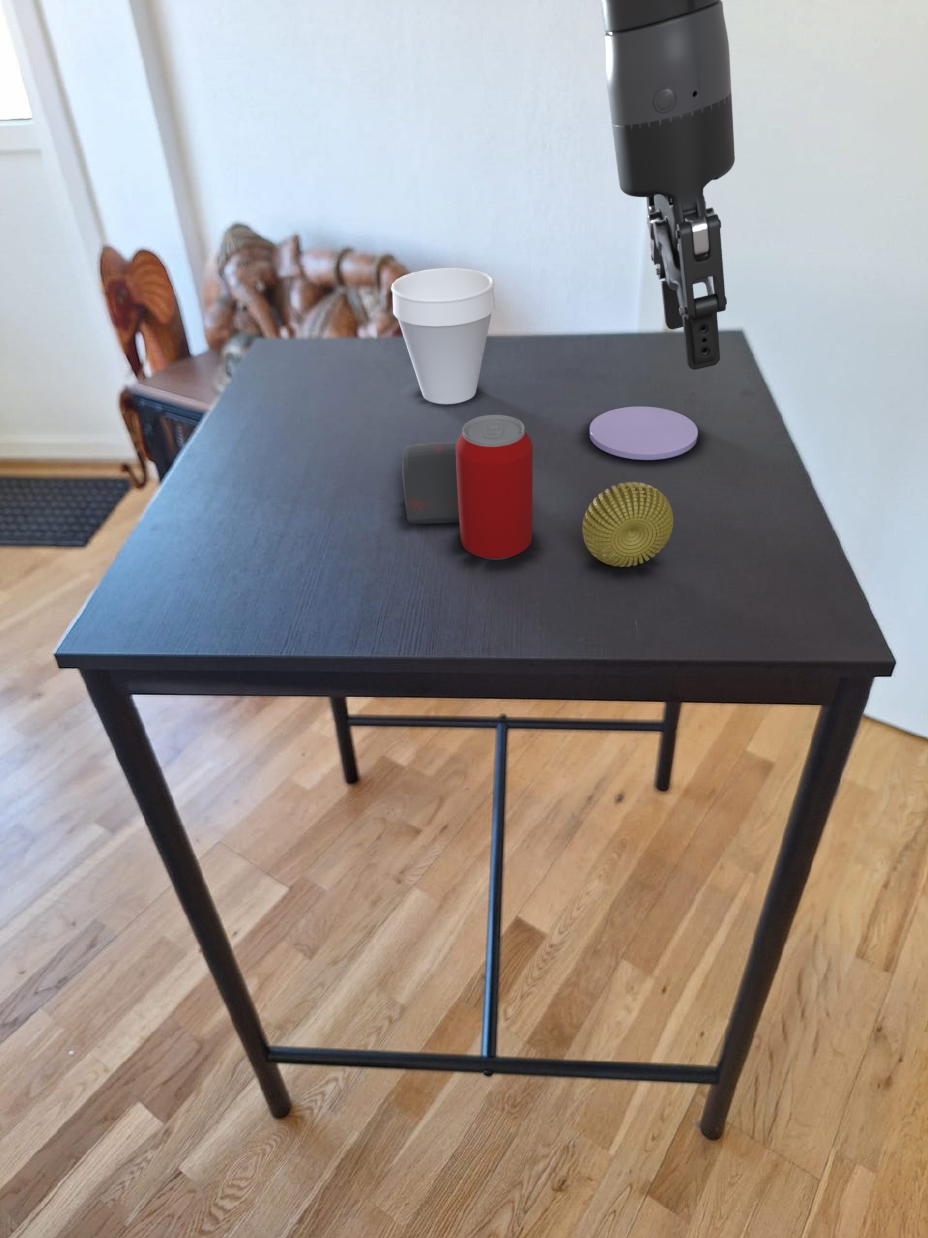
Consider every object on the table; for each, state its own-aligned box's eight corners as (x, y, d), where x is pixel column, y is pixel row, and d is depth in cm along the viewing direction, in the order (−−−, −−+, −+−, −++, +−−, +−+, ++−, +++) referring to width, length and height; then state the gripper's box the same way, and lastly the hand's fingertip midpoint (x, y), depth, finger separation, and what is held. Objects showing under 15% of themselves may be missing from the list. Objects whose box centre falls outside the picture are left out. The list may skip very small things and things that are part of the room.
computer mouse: (480, 457, 93) (479, 424, 91) (481, 523, 82) (480, 487, 80) (408, 460, 93) (405, 427, 91) (399, 526, 83) (395, 490, 80)
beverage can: (533, 526, 82) (534, 410, 74) (530, 566, 76) (531, 446, 69) (464, 525, 82) (458, 410, 75) (457, 565, 77) (450, 445, 70)
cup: (493, 413, 102) (490, 299, 93) (393, 413, 103) (381, 300, 95) (501, 373, 111) (499, 266, 103) (409, 373, 113) (400, 267, 104)
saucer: (705, 421, 98) (706, 413, 97) (685, 469, 89) (687, 460, 88) (604, 408, 102) (604, 400, 101) (576, 453, 93) (576, 445, 92)
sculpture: (660, 546, 78) (669, 469, 73) (674, 570, 75) (684, 492, 70) (575, 554, 77) (579, 478, 73) (585, 580, 74) (590, 501, 69)
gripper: (759, 97, 47) (768, 368, 57) (705, 72, 59) (720, 302, 68) (626, 135, 49) (657, 394, 58) (598, 103, 60) (628, 325, 70)
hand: (691, 344), depth 63 cm, fingers open, 8 cm apart
